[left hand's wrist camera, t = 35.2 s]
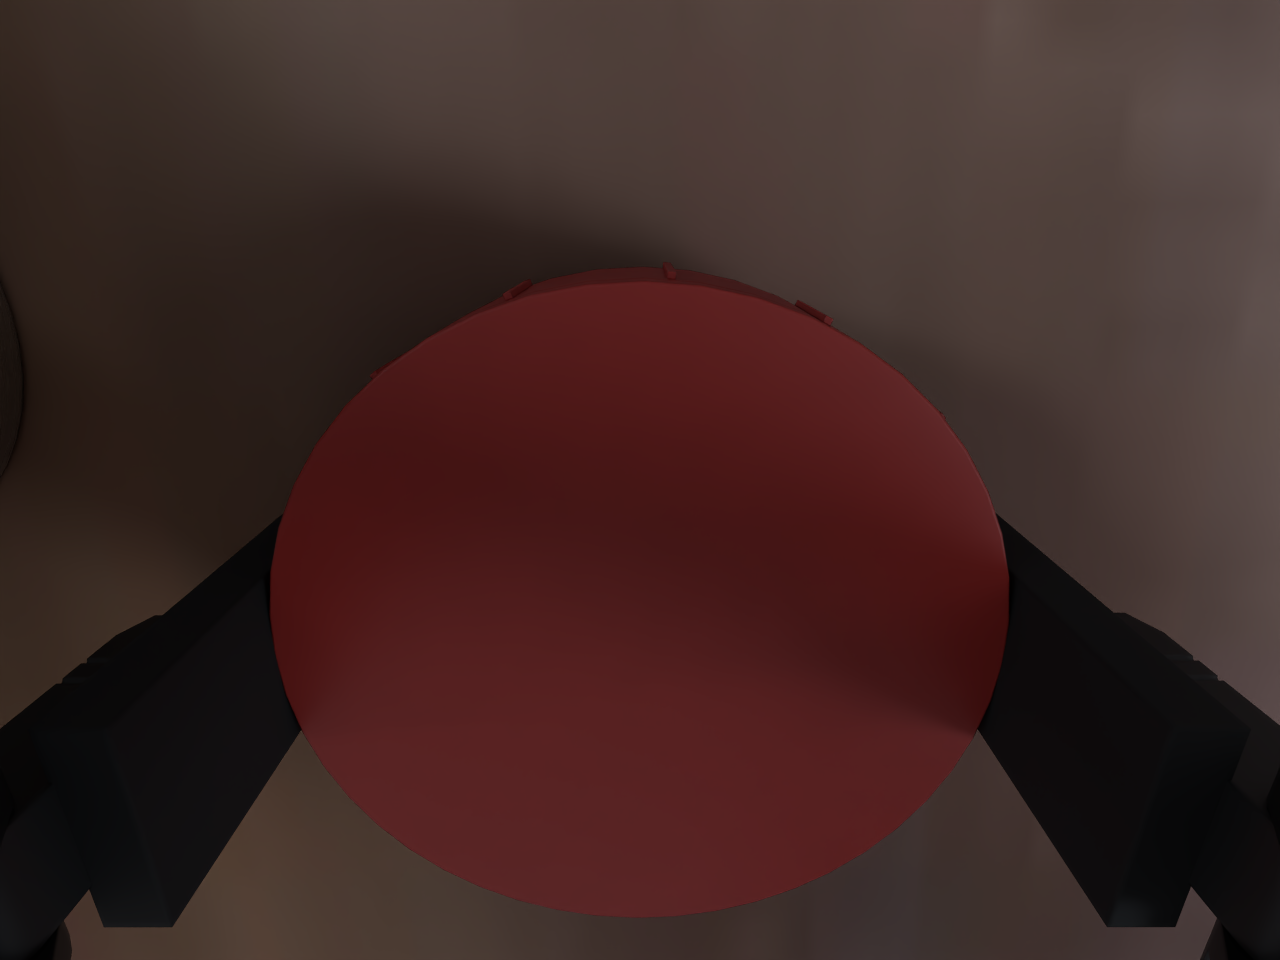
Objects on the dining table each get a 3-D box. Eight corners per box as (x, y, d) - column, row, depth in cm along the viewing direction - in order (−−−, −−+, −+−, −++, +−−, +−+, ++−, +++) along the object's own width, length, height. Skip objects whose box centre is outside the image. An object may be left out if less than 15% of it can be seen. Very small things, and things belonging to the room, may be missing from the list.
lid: (574, 105, 10) (555, 73, 7) (1070, 532, 12) (1169, 604, 10) (230, 622, 12) (142, 710, 10) (681, 884, 15) (689, 1002, 13)
